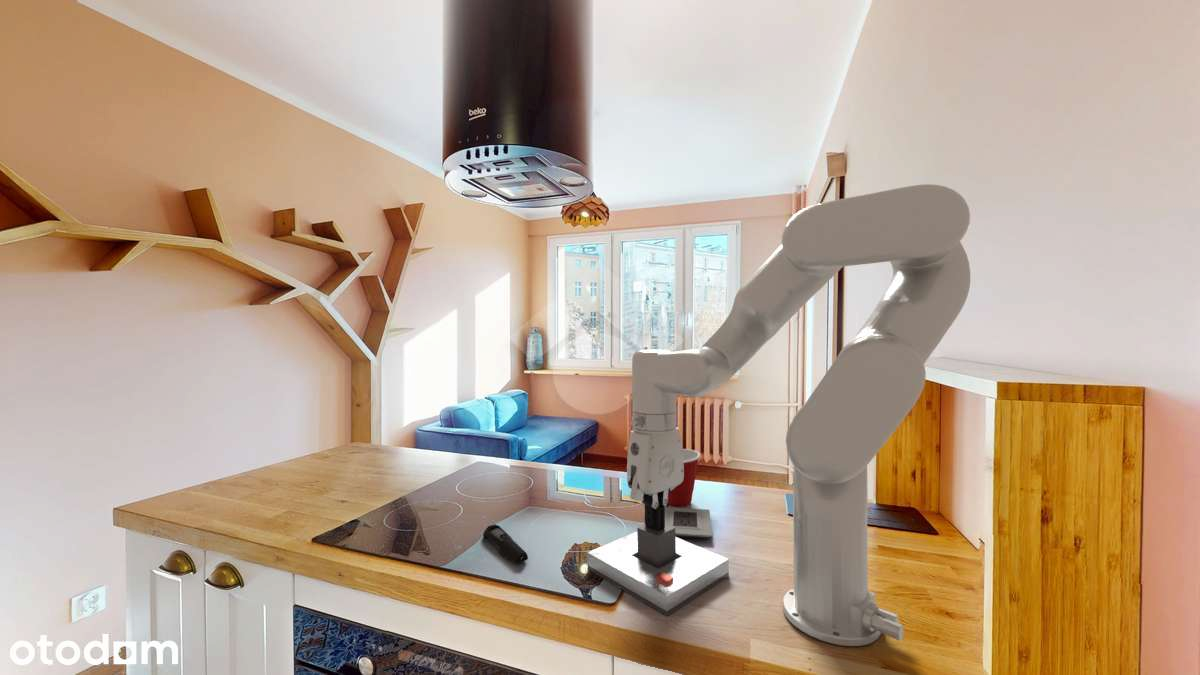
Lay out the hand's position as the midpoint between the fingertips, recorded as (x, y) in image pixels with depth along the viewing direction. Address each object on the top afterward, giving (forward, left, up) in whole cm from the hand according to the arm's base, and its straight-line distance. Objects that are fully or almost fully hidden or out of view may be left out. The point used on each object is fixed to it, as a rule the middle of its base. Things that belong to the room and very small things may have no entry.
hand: (654, 527), depth 79 cm
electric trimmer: (+25, +15, -8) cm, 30 cm away
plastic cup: (+18, -28, -8) cm, 34 cm away
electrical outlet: (+8, -18, -9) cm, 21 cm away
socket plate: (0, 0, -8) cm, 8 cm away
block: (0, 0, -7) cm, 7 cm away
